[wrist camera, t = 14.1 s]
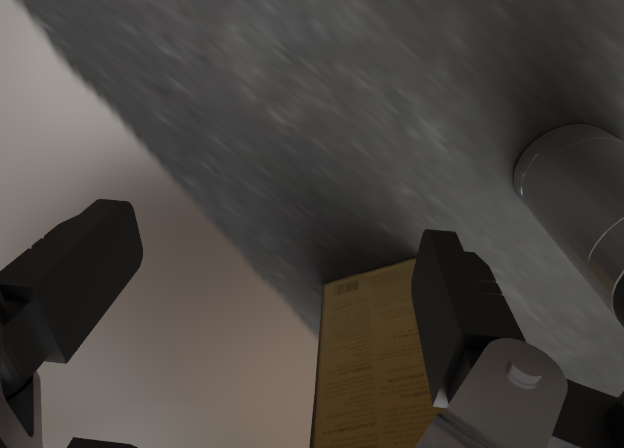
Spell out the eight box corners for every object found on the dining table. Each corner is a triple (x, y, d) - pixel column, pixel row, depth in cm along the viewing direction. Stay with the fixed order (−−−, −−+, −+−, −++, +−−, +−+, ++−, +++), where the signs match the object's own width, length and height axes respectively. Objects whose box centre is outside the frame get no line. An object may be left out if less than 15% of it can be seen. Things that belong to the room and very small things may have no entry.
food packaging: (347, 331, 52) (344, 564, 31) (319, 283, 48) (295, 514, 27) (443, 308, 48) (515, 555, 27) (423, 253, 44) (489, 495, 23)
